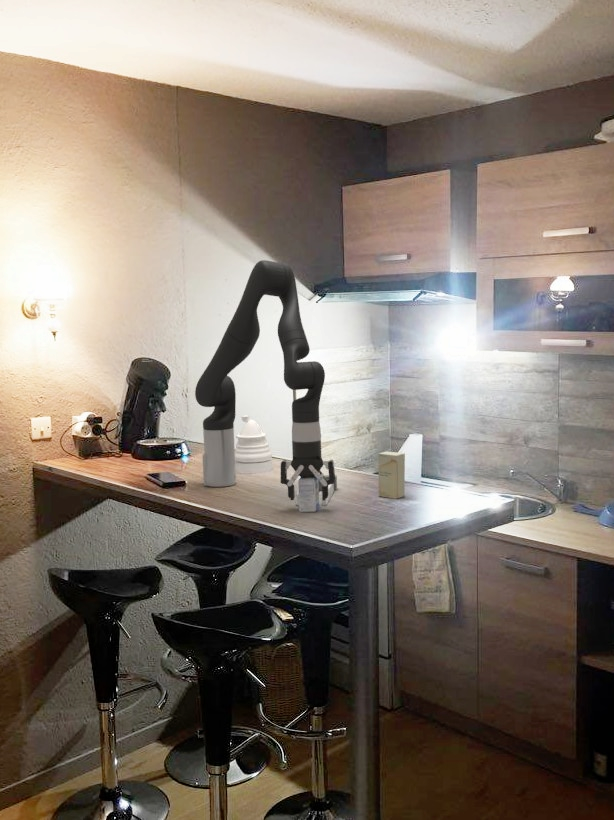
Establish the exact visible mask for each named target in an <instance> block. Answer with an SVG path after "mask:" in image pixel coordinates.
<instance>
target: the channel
mask: <svg viewBox="0 0 614 820" xmlns="http://www.w3.org/2000/svg"><path fill="white" fill-rule="evenodd" d="M324 476H325V478H326V479H327V480H328V479H329V474H328V475H327V474H324ZM318 486H319V491H320V492H322V486H323V485H322V483H321V482H320V481H319V480H318ZM337 490H338V476H337V475H336V474H335V482H334V483H333V484H330V485H328V497H327V498H326V500H322V499H321V500H322V506H327V504H328V502H329V501H330V499H331V498H332V495H333V494H334V492H336V491H337ZM295 495H296V497H295V498H296V506H299V493H298V492H297V493H296V494H295Z"/></svg>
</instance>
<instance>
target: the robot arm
mask: <svg viewBox="0 0 614 820" xmlns="http://www.w3.org/2000/svg"><path fill="white" fill-rule="evenodd" d="M265 295H266V296H271V297H277V298H279V300H280V302H281V305H282V311H281V316H280V317H279V321H278V324H277V336H278V340H279V344H280V347H281V350H282V354H283V381H284V384H285V385H286V387H288V389H291V390H292V391H293V390H294V391H300V390H307V392H306V393H305V395H304V396H302V397H299V398H296V399H293V401H292V404H291V414H292V415H291V416H292V417H291V419H292V424H291V425H292V426H291V443H292V444H291V445H292V450H291V451H292V460H286V459H283V460H282V461H281V462H280V484H282V485H285V486H287V498H289V499H290V500H291V501H294V500H295V498H296V497H295V495H296V494H295V484H294V483H295V481H297V479H298V477H314V476H316V478H317V479H318V480H319V481H320V482H321V483H322V485H323V486H322V491H321V500H326V498H327V497H328V485H330V484H333V483H334V482H335V475H336V472H335V462H334V460H333V459H330V460H323V458H322V432H321V429H322V428H321V425H320V424H321V423H320V402H321V397H322V391H323V387H324V385H325V379H326V372H325V369H324V367H323V365H322V364H321V363H320V362H318V361H315V360H314V361H312V360H311V361H301V360H304V358H306V357H308V355H309V353H310V345H309V342H308V339H307V336H306V333H305V329H304V326H303V323H302V318H301V311H300V305H299V296H298V289H297V282H296V278H295V273H294V271H293V269H292V267H291V266H290V264H289V265H288V264H286V263H283V262H277V261H272V260H260V261H257V262H256V264H255V265H254V266H253V267H252V270H251V272H250V274H249V277H248V280H247V283H246V285H245V288H244V290H243V293H242V296H241V297H240V301H239V304H238V306H237V307H236V311H235V312H234V315H233V316H232V319H231V320H230V322H229V324H228V326H227V328H226V330H225V332H224V334H223V337H222V338H221V341H220V343H219V344H218V347H217V349H216V351H215V353H214V354H213V356H212V358H211V360H210V362H208V365H207V367H206V368H205V369H204V371H203V373H202V374H201V375H200V378H199V379H198V381H197V384H196V385H195V391H194V392H195V393H194V397H195V400H196V402H197V404H198V405H200V406H201V407H204V408H212V407H214V409H213V411H212V413H211V414H209V416H207V417H205V418H204V419H203V421H202V428H203V429H202V431H203V450H204V451H203V454H202V473H203V474H202V476H203V486H204V487H213V488H216V487H217V488H219V487H223V488H224V487H230V486H233V485H236V484H237V472H236V469H235V449H236V446H235V428H234V427H235V423H234V422H235V420H236V398H237V397H236V386H235V384H234V383H235V382H234V381H233V379H232V378H231V376H229V374H230V373H231V372H232V371H233V370H235V368H236V367H238V366H239V365H240V364H241V363H243V362H244V361H245V360H246V359H247V358H248V356H250V354H251V353H252V352H253V349H254V347H255V346H256V343H257V342H258V339H259V338H260V332H261V329H260V327H261V326H260V322H259V316H258V306H259V304H260V301H261V300H262V298H263V296H265ZM300 361H301V362H300ZM290 466H291V468H292V469H293V470H294V471H295V472H294V473H293V474H292V476H291V477H290V479H288V478H287V477H288V470H289V468H290ZM323 466H325V469H326V470H328V475H329V479H328V480H327V479H326V478H325V476H324V475H325V474H324V473H323V472H322V471H321V469H322V468H323Z"/></svg>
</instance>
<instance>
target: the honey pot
mask: <svg viewBox="0 0 614 820" xmlns="http://www.w3.org/2000/svg"><path fill="white" fill-rule="evenodd" d="M240 417H241V421H242V422H244V423H245V424H244V426H243V427H242V429H241V432H240V433H238V434H236V435H235V436H236V437H235V438H236V439H237V443H236V444H235V469H236V474H237V473H238V474H243V475H244V474H249V475H250V474H262V473H263V474H264V473H268V472H271V471H272V470H273V453H272V451H271V448H270V446H269V443H268V440H267V438H266V437H267V434H266V433H264V432H263V430H262V428H261V426H260V425H259V424H258V422H256V421H255V420H254V419H250V416H249V415H241V416H240Z"/></svg>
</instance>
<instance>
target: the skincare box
mask: <svg viewBox="0 0 614 820" xmlns="http://www.w3.org/2000/svg"><path fill="white" fill-rule="evenodd" d="M405 456H406V454H405V453H403V452H396V451H383V452H379V453H378V497H383V498H389V499H394V500H395V499H397V500H398V499H400V498H403V497H405V492H406V491H405V487H406V486H405V483H406V480H405V475H406V474H405V473H406V470H405V469H406V466H405V464H406V463H405V462H406V461H405V458H406V457H405Z"/></svg>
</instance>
